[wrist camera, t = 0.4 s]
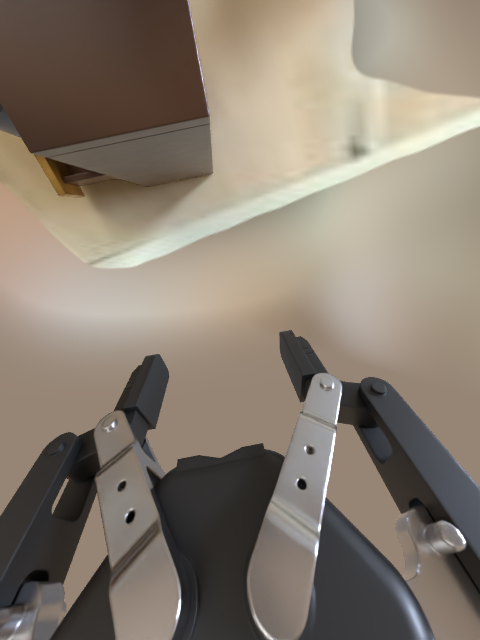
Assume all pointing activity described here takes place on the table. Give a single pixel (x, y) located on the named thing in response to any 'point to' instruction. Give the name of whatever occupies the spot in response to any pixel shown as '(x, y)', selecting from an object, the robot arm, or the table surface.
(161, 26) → the cubby
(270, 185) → the table surface
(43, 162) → the drawer
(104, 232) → the table surface
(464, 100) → the table surface
